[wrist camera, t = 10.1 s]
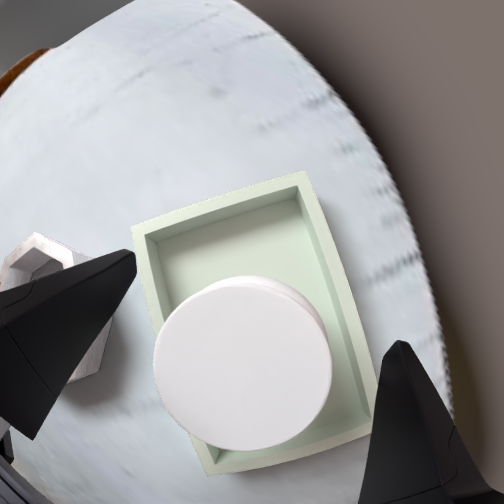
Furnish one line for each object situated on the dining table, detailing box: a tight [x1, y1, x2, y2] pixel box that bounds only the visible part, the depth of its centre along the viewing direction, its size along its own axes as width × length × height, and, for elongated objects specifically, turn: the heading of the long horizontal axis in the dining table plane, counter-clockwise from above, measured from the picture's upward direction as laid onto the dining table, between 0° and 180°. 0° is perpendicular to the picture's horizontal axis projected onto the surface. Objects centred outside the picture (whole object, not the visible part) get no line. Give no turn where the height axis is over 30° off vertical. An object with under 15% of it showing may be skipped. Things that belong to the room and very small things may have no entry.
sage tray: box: [131, 170, 378, 476], centre depth 16 cm, size 16×11×2 cm
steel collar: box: [0, 233, 113, 384], centre depth 16 cm, size 11×11×3 cm
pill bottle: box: [153, 275, 333, 452], centre depth 11 cm, size 6×6×10 cm
